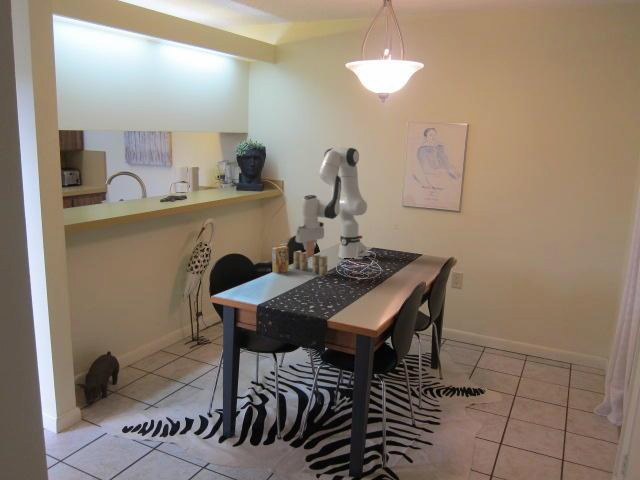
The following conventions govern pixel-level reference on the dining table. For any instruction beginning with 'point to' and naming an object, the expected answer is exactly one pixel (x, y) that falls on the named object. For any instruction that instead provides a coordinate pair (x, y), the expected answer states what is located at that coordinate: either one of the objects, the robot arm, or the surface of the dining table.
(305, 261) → the tile
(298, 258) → the tile
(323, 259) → the tile
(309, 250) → the tile
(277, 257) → the candy box
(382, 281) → the dining table surface
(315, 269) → the tile
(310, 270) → the slate board
